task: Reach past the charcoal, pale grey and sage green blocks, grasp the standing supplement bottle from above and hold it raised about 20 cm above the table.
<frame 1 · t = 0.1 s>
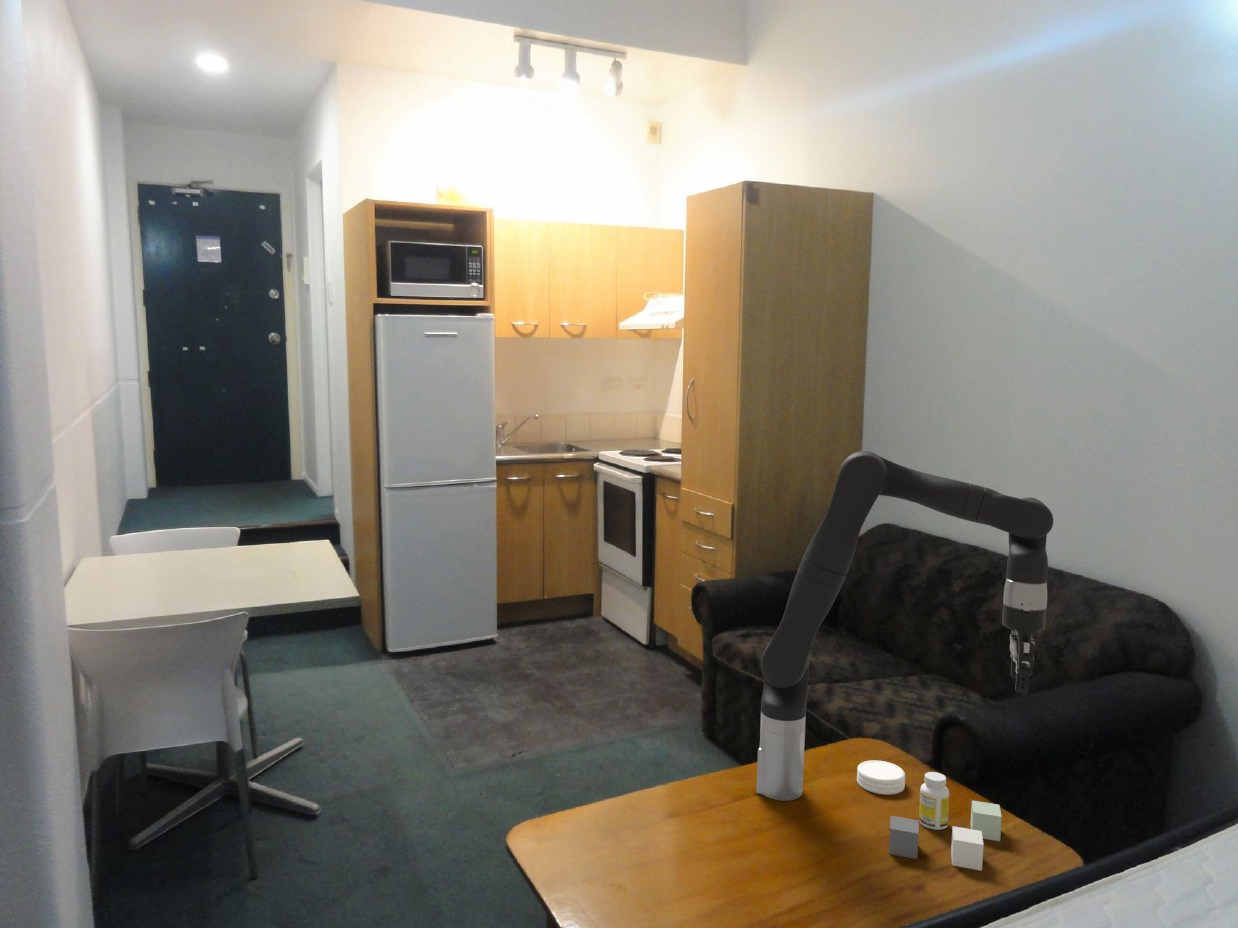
hand: (1019, 685, 168), 29 cm above the table, tool pointing down, fingers open, 8 cm apart
charcoal block: (903, 849, 163), on the table
sage block: (984, 832, 170), on the table
pale grey block: (966, 861, 160), on the table
coaster: (880, 785, 189), on the table
supplement bottle: (933, 824, 173), on the table
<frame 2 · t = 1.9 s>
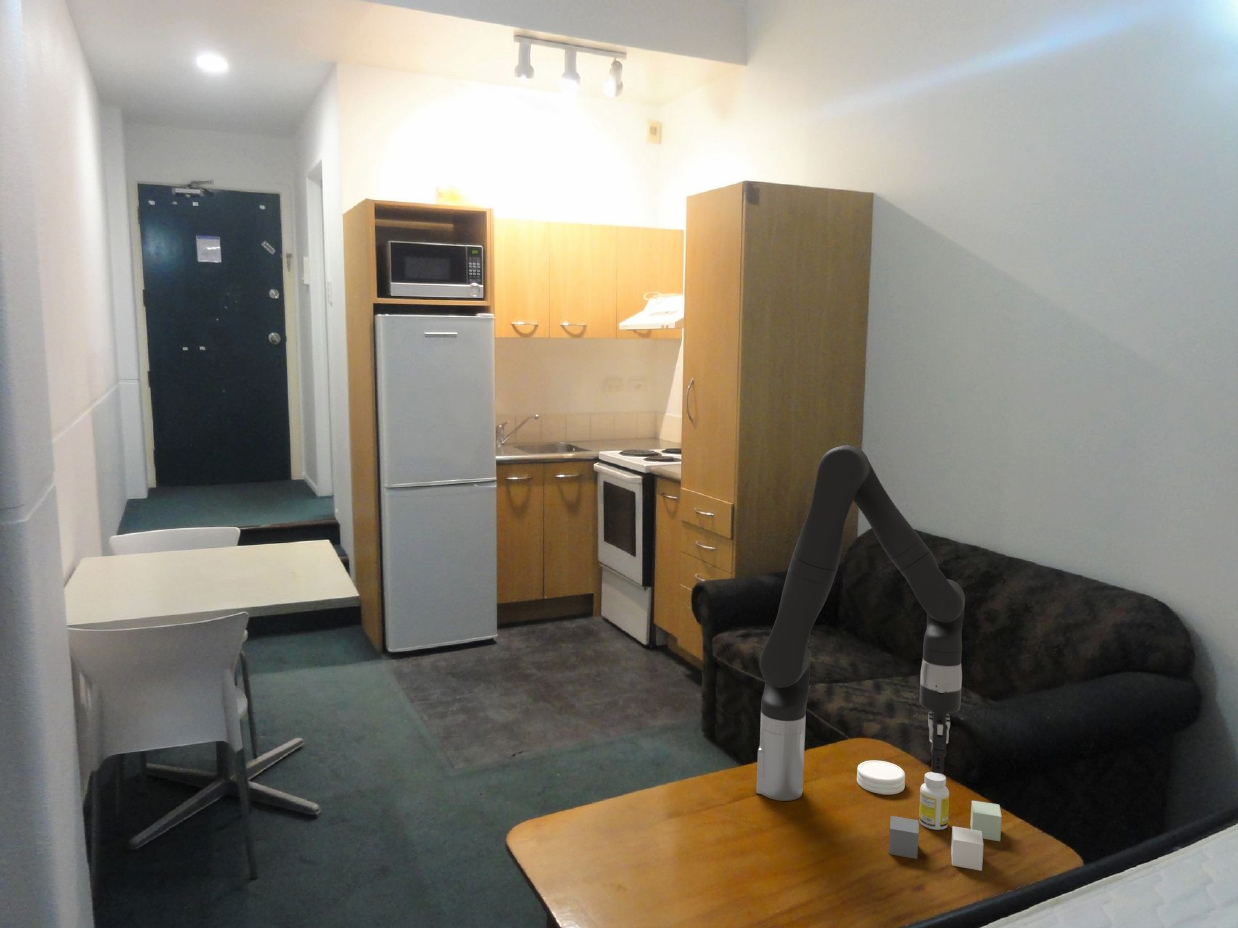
hand: (936, 763, 172), 12 cm above the table, tool pointing down, fingers open, 8 cm apart
nothing on the table moved.
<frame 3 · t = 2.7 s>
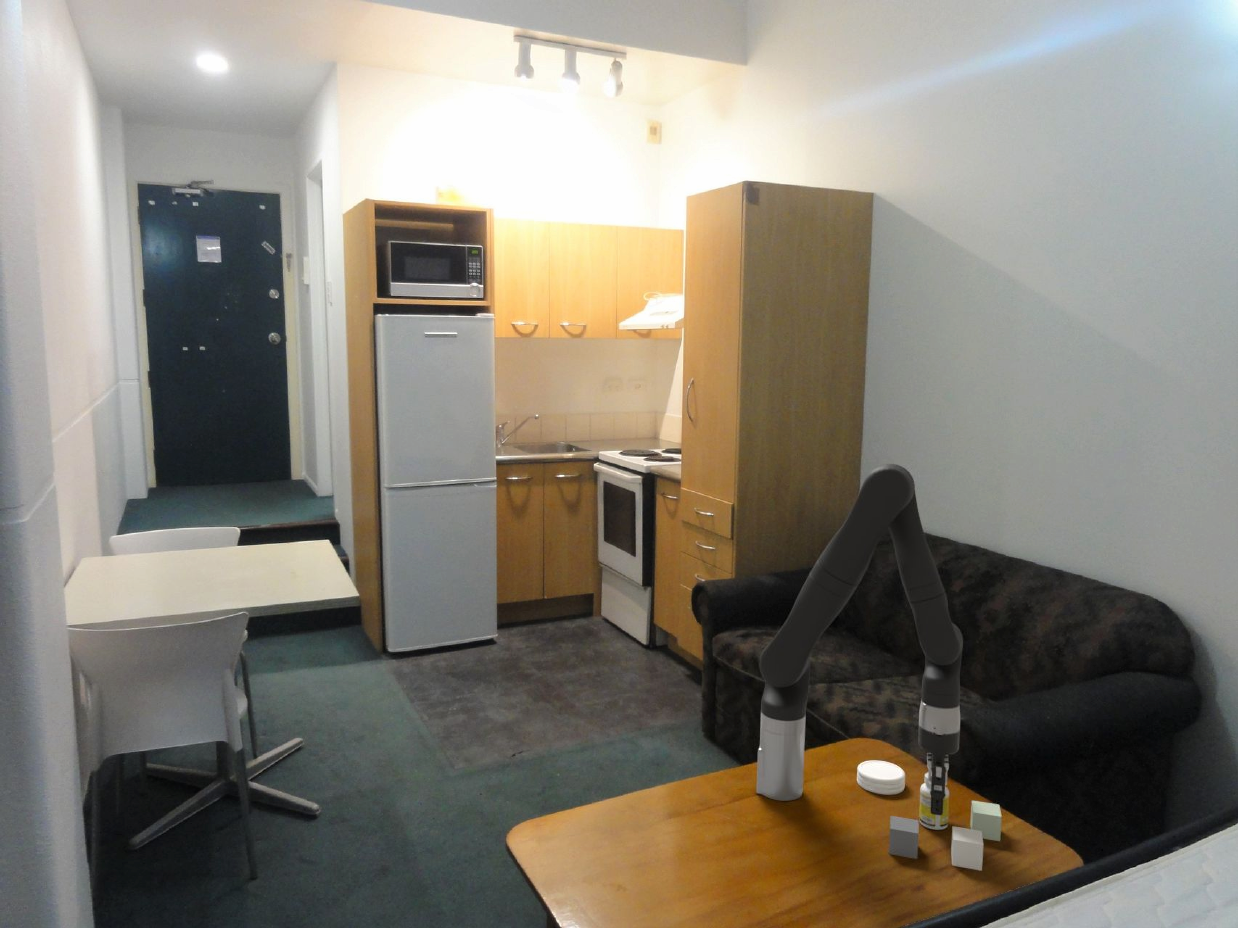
hand: (936, 803, 172), 4 cm above the table, tool pointing down, fingers open, 8 cm apart
nothing on the table moved.
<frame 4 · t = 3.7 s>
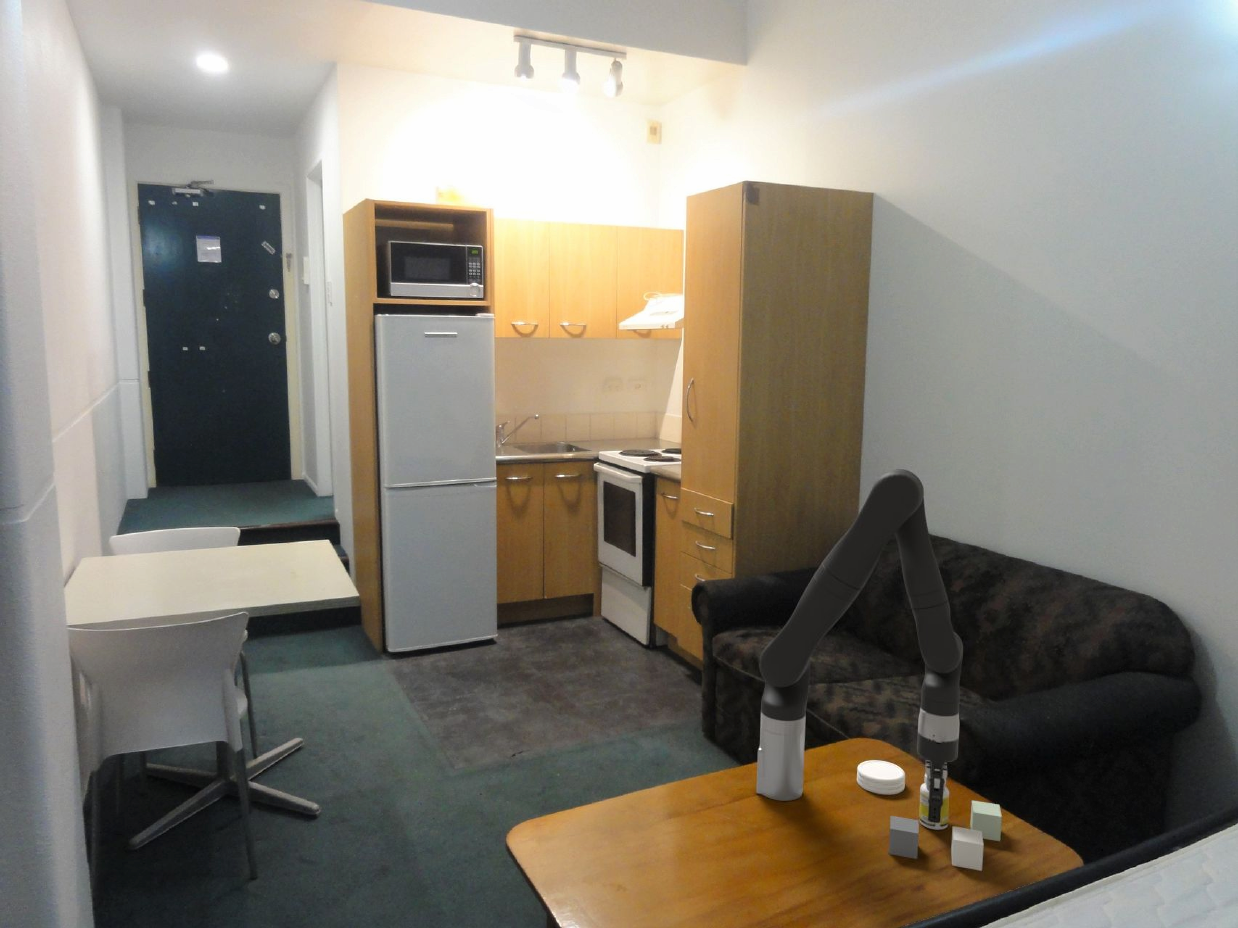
hand: (933, 813, 173), 2 cm above the table, tool pointing down, fingers closed on supplement bottle, 5 cm apart
supplement bottle: (933, 824, 173), on the table, touching gripper
everything else where it was.
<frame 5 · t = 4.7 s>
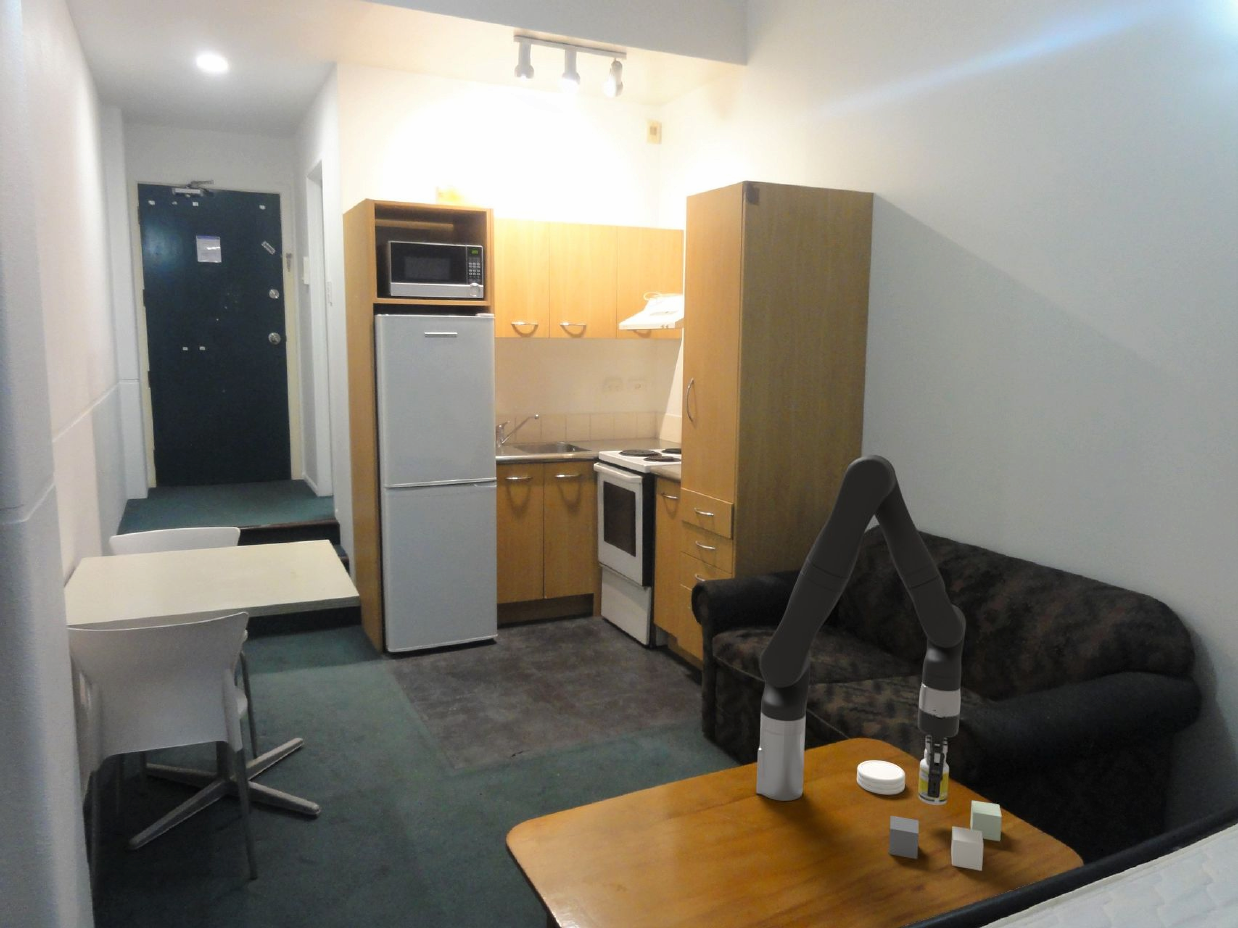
hand: (932, 789, 172), 7 cm above the table, tool pointing down, fingers closed on supplement bottle, 5 cm apart
supplement bottle: (932, 800, 173), point 5 cm above the table, touching gripper
everything else where it was.
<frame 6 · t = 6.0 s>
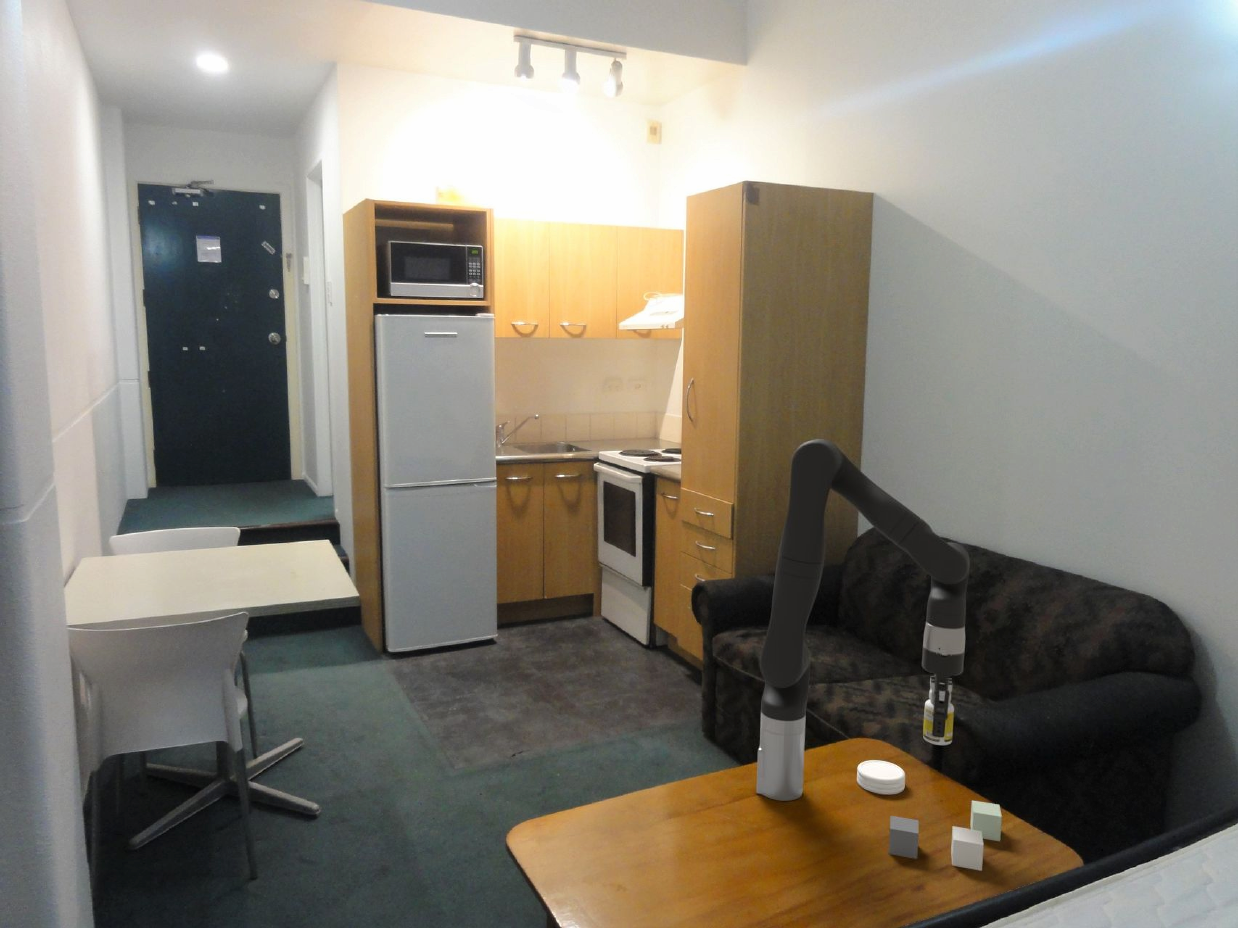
hand: (937, 730, 171), 19 cm above the table, tool pointing down, fingers closed on supplement bottle, 5 cm apart
supplement bottle: (937, 741, 171), point 17 cm above the table, touching gripper
everything else where it was.
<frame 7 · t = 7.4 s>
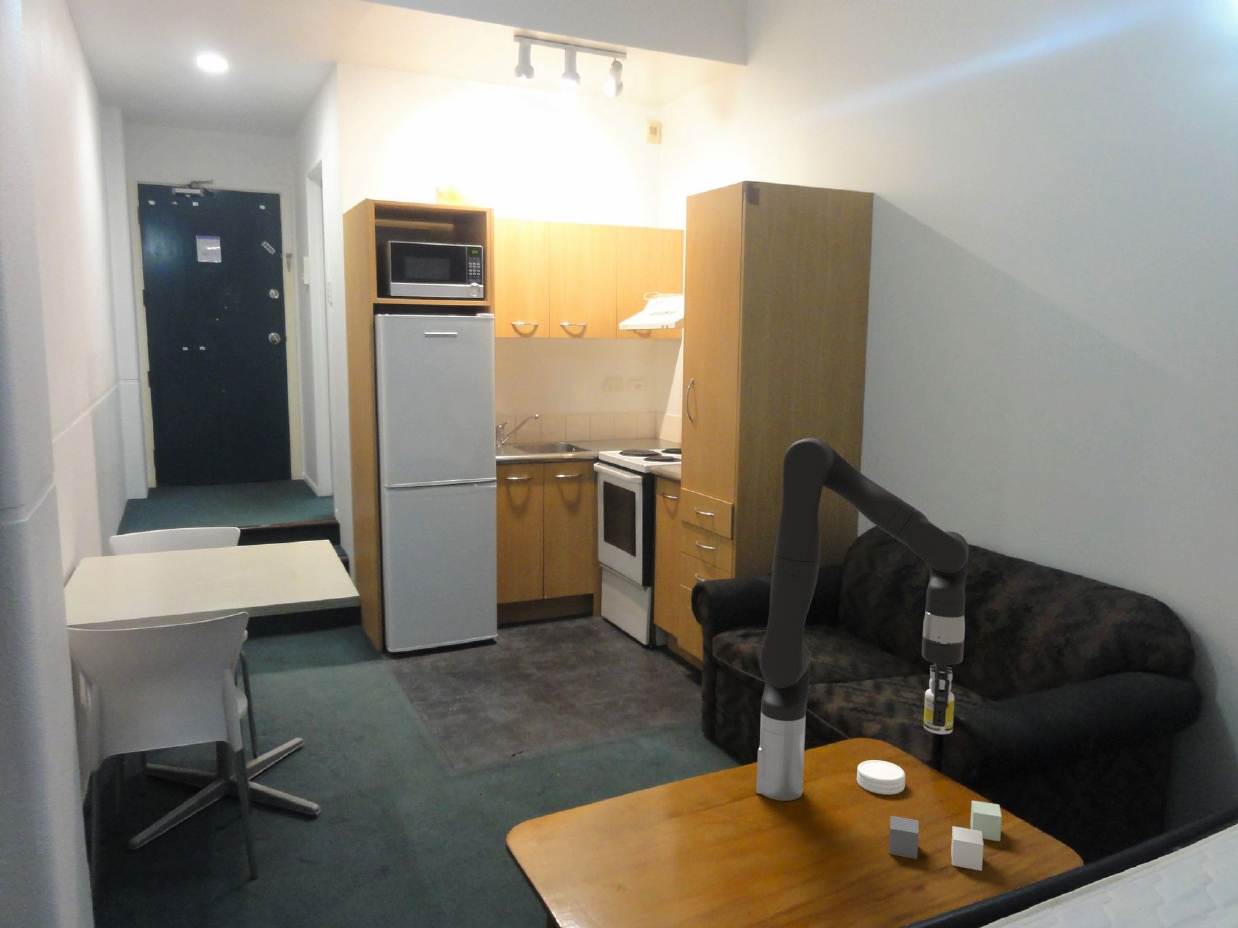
hand: (938, 719, 171), 21 cm above the table, tool pointing down, fingers closed on supplement bottle, 5 cm apart
supplement bottle: (937, 730, 171), point 19 cm above the table, touching gripper
everything else where it was.
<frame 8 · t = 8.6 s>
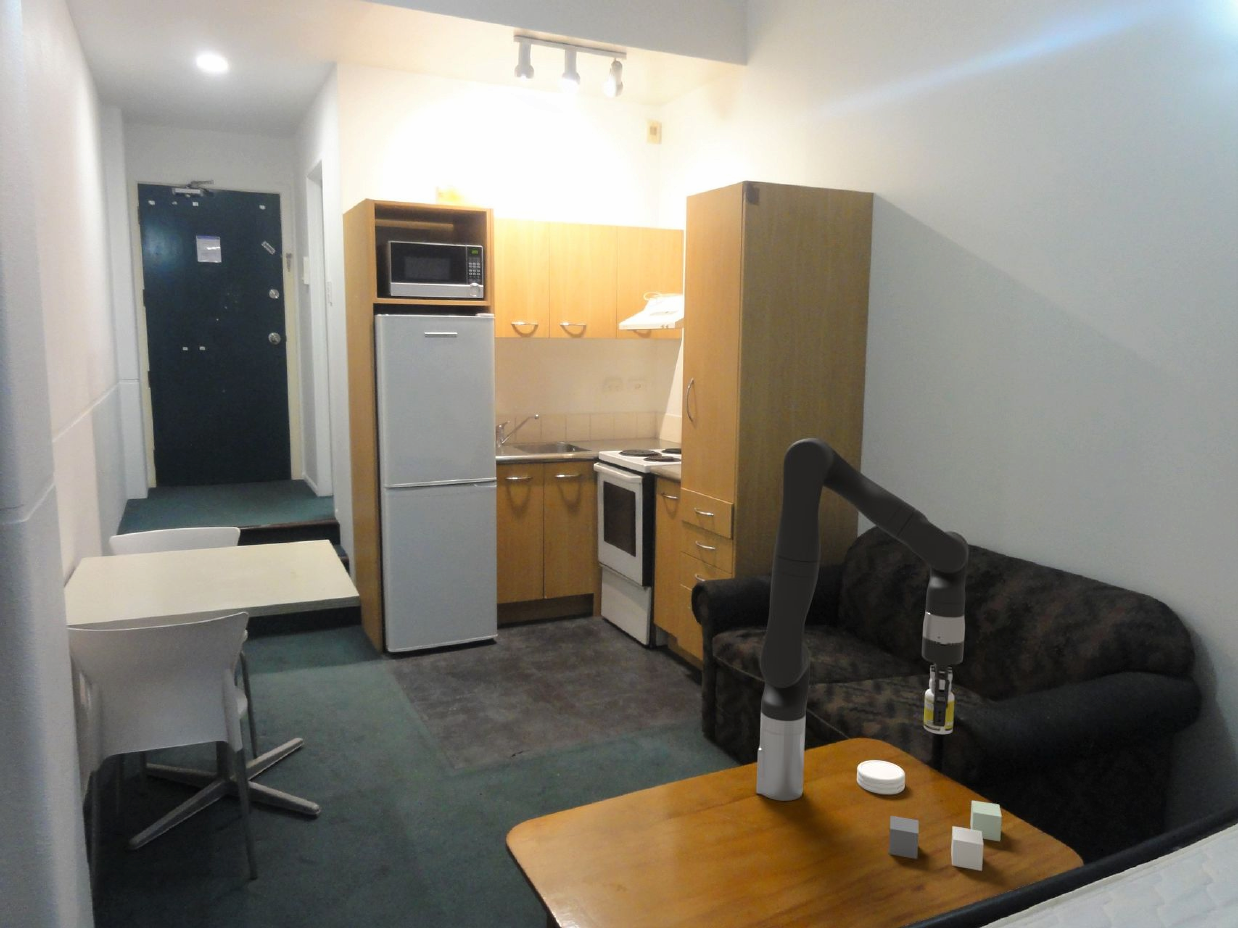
hand: (938, 719, 171), 21 cm above the table, tool pointing down, fingers closed on supplement bottle, 5 cm apart
supplement bottle: (937, 730, 171), point 19 cm above the table, touching gripper
everything else where it was.
at the end: the gripper is holding supplement bottle; supplement bottle point 19.1 cm above the table; sage block moved 0.1 cm from its start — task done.
